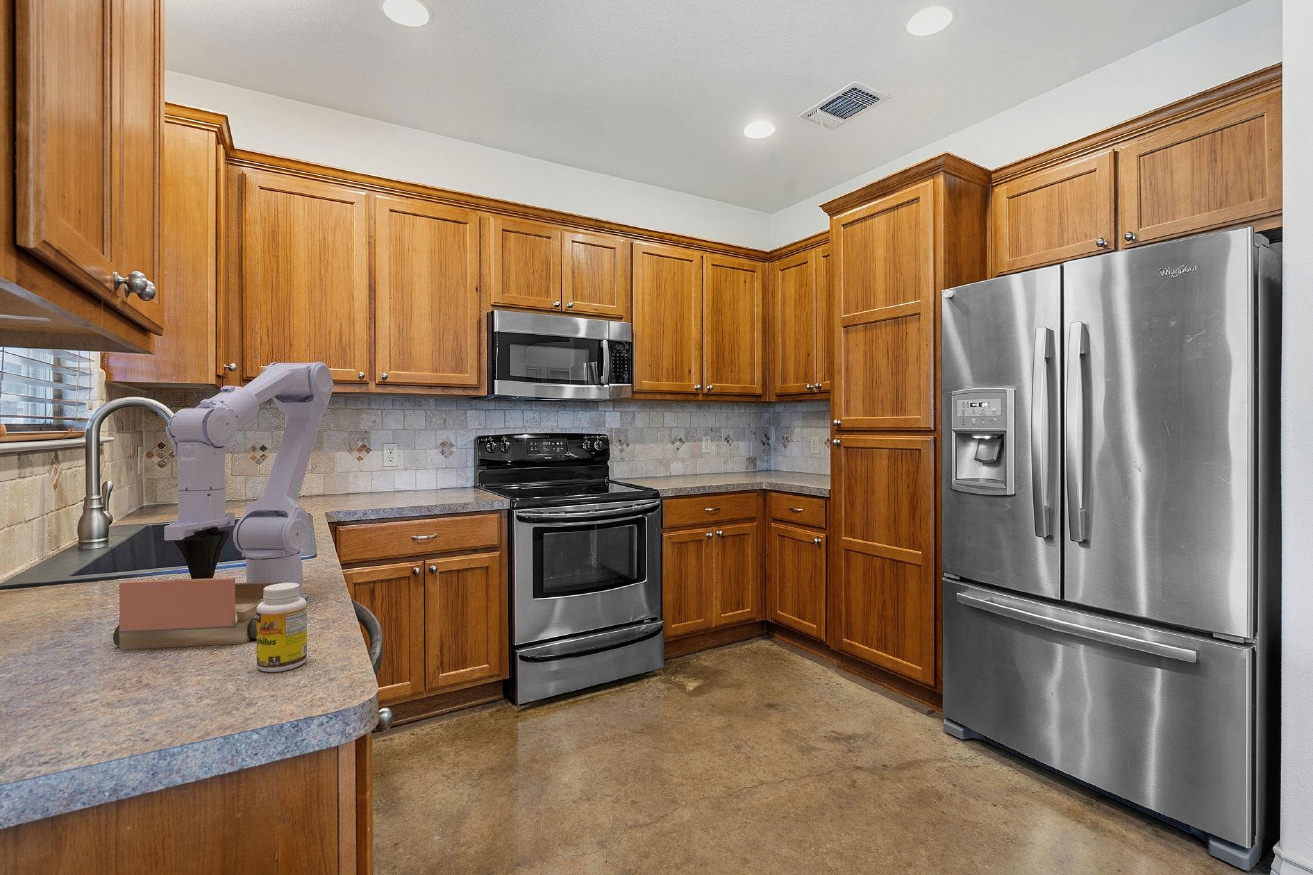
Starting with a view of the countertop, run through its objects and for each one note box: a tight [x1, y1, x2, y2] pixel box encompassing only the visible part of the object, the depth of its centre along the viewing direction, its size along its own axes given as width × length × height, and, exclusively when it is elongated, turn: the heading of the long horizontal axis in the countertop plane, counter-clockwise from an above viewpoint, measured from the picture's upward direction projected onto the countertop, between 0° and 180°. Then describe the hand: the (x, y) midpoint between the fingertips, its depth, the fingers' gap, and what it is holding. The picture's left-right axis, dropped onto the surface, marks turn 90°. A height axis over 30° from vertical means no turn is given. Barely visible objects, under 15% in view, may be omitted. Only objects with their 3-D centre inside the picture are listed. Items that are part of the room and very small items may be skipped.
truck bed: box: [112, 582, 282, 650], centre depth 94 cm, size 12×18×6 cm, turn 98°
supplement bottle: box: [256, 583, 308, 673], centre depth 81 cm, size 6×6×10 cm
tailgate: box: [118, 577, 237, 633], centre depth 87 cm, size 1×14×7 cm, turn 99°
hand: (202, 581), depth 93 cm, fingers closed
